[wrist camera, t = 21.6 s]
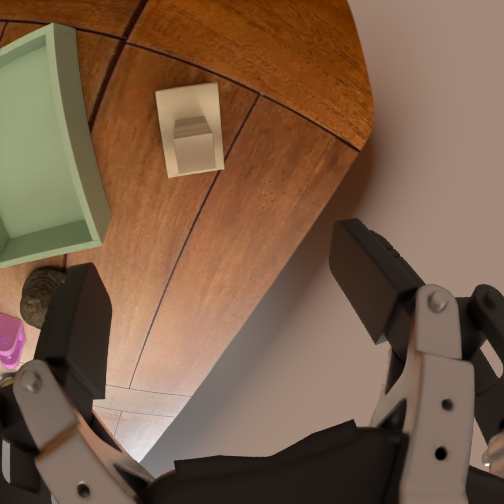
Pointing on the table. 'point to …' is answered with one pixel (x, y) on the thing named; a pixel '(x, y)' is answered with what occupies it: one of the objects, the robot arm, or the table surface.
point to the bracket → (11, 341)
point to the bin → (46, 152)
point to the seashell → (39, 295)
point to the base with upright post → (191, 129)
